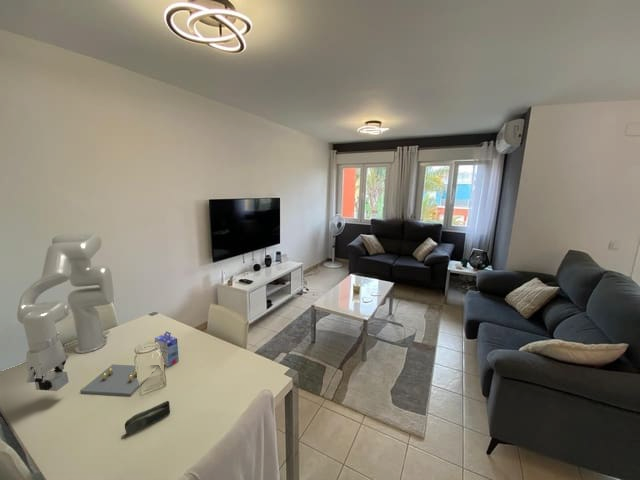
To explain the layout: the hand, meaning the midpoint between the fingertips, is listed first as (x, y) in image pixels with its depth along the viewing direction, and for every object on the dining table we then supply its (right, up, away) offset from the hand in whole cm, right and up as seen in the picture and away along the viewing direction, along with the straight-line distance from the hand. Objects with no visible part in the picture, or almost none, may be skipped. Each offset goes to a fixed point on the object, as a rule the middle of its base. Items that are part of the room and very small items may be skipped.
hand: (52, 383), depth 101 cm
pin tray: (+17, -5, +12) cm, 22 cm away
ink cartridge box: (+30, -3, +26) cm, 40 cm away
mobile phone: (+42, -10, -8) cm, 44 cm away
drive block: (0, -1, 0) cm, 1 cm away
